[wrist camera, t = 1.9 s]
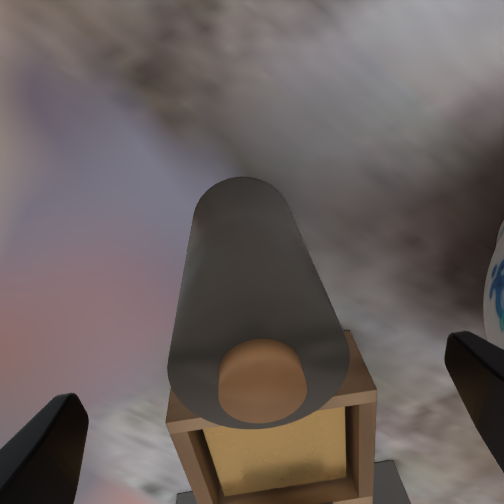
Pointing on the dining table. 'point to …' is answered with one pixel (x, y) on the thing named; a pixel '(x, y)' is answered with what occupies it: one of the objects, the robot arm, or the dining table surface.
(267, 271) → the battery cell
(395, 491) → the trough
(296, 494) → the frame
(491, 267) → the chinaware
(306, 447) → the plate
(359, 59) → the dining table surface
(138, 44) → the dining table surface
